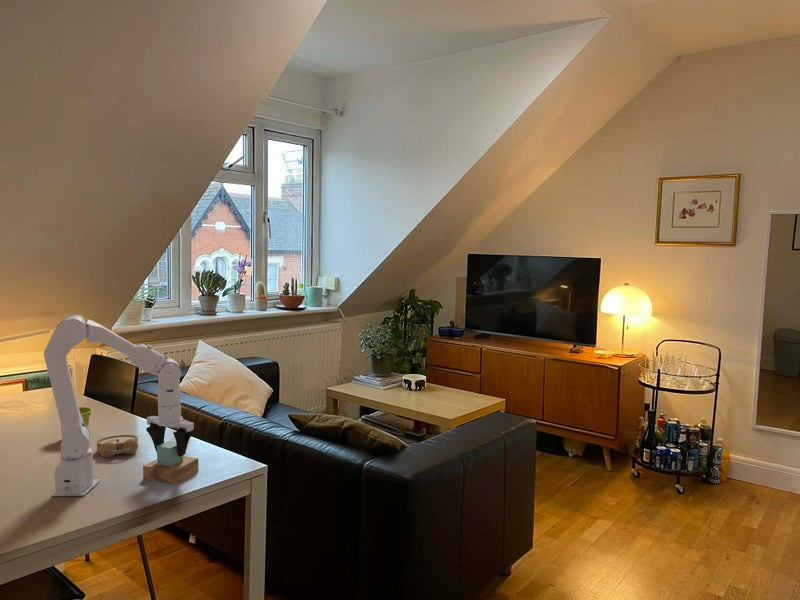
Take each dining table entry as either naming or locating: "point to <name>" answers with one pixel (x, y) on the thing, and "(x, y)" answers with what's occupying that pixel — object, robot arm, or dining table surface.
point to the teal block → (168, 454)
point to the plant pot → (85, 414)
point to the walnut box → (170, 470)
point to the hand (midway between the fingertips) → (170, 453)
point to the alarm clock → (117, 445)
